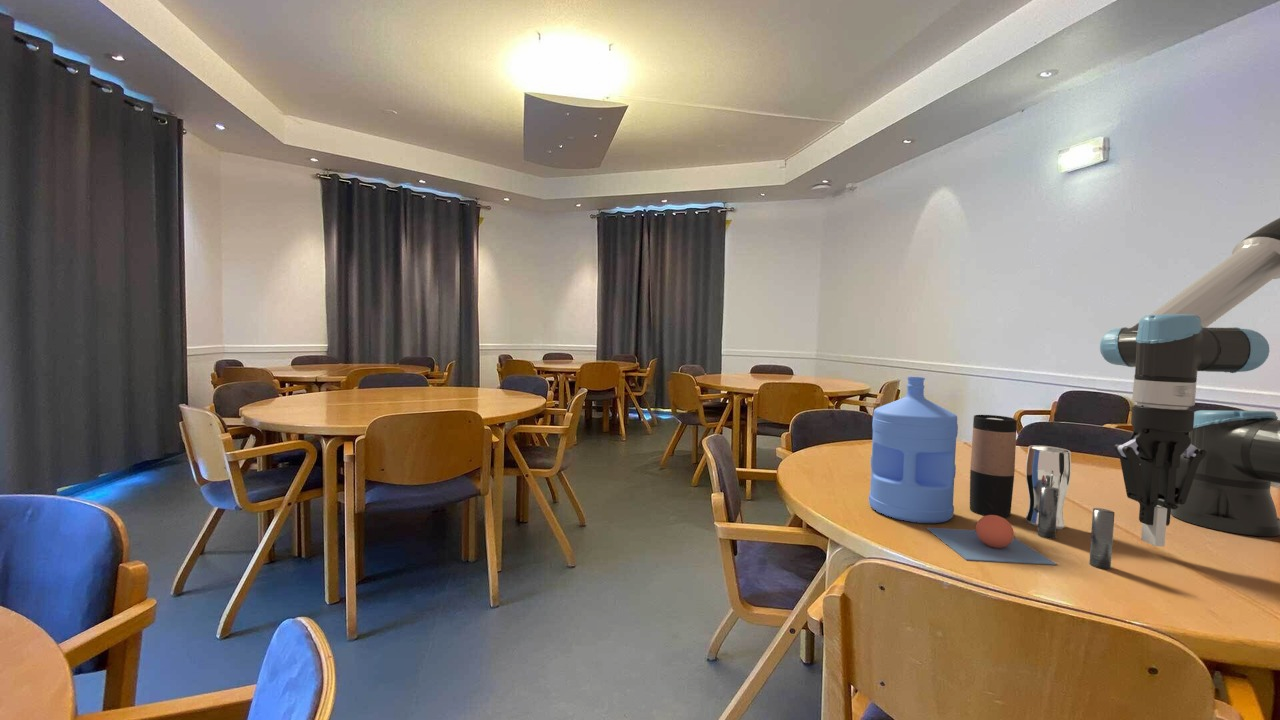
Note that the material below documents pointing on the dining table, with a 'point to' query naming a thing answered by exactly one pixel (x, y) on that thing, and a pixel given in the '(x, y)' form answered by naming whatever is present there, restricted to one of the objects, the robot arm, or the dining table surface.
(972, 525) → the dining table surface
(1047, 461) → the beer glass
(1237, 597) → the dining table surface
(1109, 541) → the post
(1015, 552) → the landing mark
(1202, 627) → the dining table surface
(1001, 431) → the travel mug
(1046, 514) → the post
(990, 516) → the ball
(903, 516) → the water jug
